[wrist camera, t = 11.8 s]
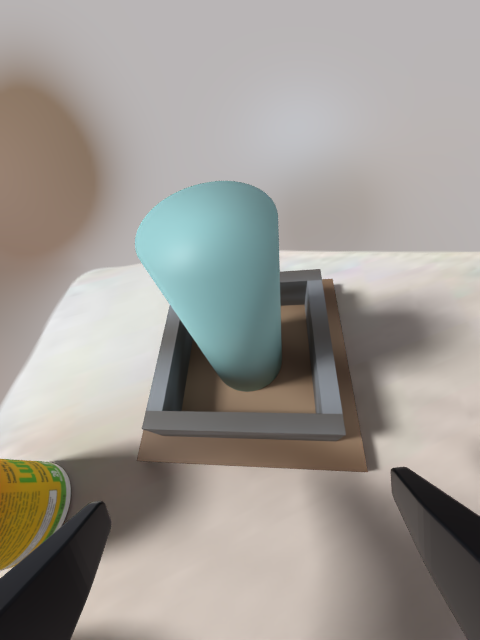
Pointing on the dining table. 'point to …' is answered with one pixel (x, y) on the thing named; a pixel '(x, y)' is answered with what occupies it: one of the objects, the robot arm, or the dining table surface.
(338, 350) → the brown and grey tray
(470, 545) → the robot arm
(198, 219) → the post
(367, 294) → the dining table surface
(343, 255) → the dining table surface
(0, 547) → the supplement bottle
